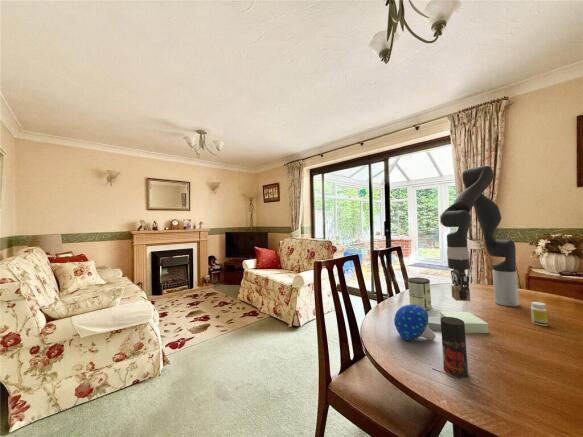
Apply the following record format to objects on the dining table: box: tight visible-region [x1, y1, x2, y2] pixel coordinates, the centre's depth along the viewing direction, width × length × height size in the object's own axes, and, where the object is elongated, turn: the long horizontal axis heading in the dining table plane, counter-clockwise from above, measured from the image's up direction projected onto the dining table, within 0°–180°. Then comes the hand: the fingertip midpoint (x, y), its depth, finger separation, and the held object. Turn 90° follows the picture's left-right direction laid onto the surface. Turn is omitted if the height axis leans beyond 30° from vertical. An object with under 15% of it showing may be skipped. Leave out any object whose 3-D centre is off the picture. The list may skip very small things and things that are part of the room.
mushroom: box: [393, 304, 437, 342], centre depth 89 cm, size 14×14×15 cm
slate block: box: [427, 316, 441, 332], centre depth 98 cm, size 7×7×3 cm
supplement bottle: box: [530, 301, 549, 327], centre depth 96 cm, size 5×5×8 cm
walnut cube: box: [450, 284, 471, 302], centre depth 98 cm, size 5×5×5 cm
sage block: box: [439, 311, 489, 334], centre depth 98 cm, size 12×12×4 cm
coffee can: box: [407, 276, 433, 311], centre depth 122 cm, size 10×10×14 cm
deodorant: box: [439, 317, 469, 379], centre depth 69 cm, size 6×6×15 cm
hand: (460, 297), depth 98 cm, fingers closed on walnut cube, 5 cm apart
